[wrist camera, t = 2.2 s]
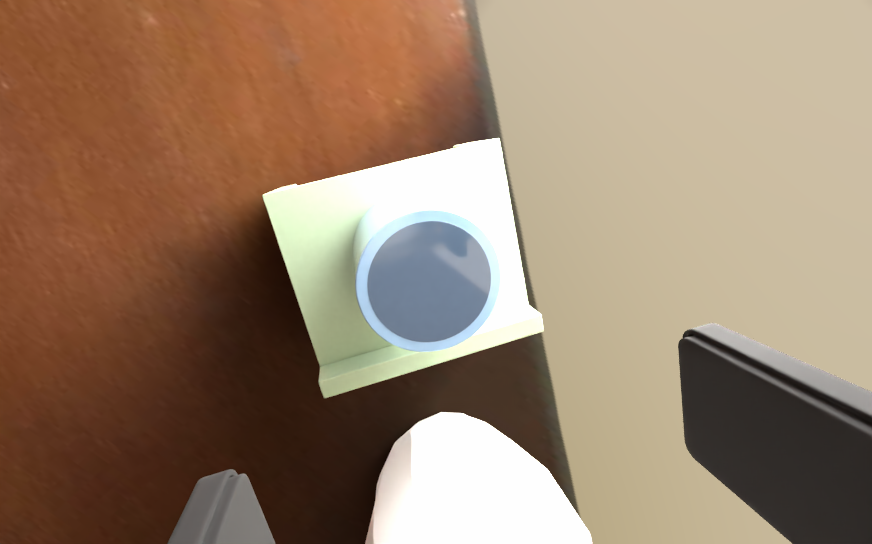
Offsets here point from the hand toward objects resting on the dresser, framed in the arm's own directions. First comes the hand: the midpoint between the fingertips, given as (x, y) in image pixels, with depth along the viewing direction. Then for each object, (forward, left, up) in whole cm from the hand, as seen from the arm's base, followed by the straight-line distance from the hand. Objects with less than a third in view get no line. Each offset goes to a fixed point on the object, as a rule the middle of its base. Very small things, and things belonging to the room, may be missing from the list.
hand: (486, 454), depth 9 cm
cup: (-1, +1, -18) cm, 18 cm away
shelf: (0, +1, -25) cm, 25 cm away
